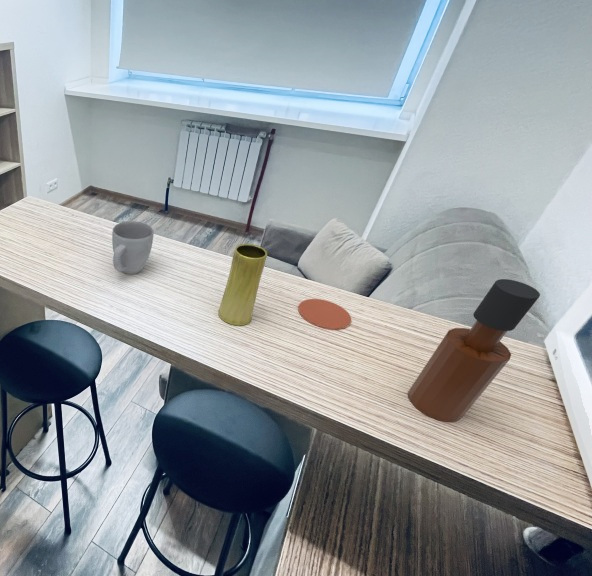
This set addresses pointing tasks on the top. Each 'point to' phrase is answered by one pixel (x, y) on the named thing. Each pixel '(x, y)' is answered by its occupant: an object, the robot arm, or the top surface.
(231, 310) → the vase
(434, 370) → the bottle
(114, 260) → the mug
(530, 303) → the stopper
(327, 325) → the coaster
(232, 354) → the top surface
